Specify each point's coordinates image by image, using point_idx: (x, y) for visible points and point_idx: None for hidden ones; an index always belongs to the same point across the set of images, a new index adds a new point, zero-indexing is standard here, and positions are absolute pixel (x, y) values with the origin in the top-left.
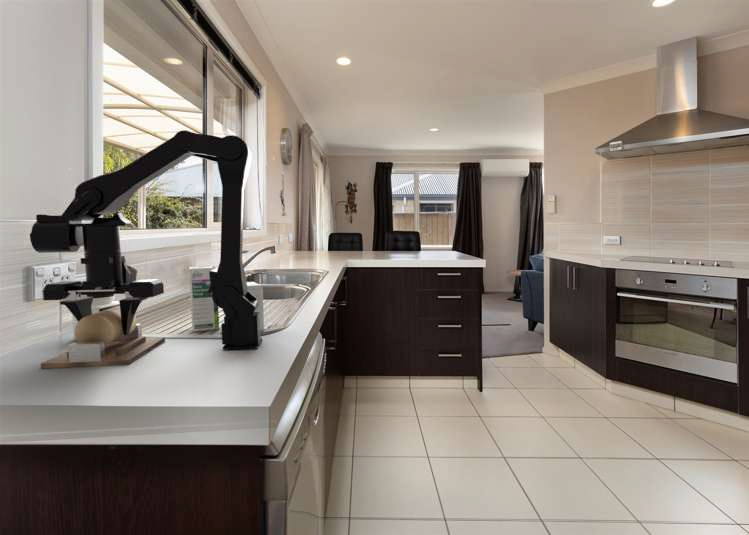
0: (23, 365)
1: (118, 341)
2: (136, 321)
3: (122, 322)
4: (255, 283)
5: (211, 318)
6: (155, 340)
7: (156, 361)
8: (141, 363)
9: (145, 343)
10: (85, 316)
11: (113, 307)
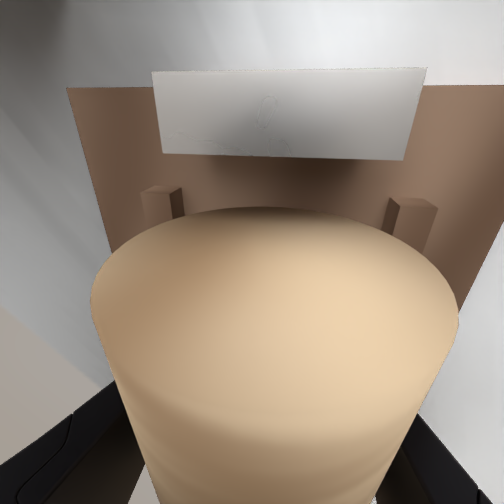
0: (88, 351)
1: (249, 167)
2: (428, 265)
3: (381, 495)
4: None
5: None
6: (488, 185)
7: (479, 418)
8: (429, 421)
9: (426, 246)
10: (115, 495)
11: (214, 488)
